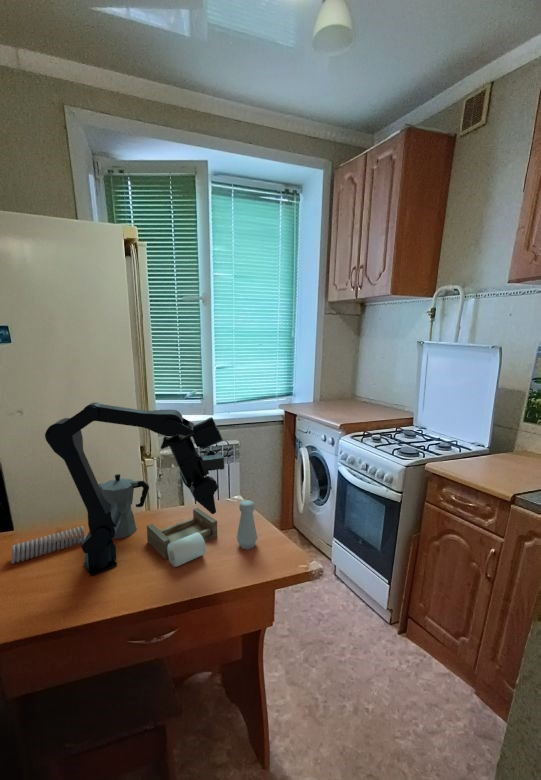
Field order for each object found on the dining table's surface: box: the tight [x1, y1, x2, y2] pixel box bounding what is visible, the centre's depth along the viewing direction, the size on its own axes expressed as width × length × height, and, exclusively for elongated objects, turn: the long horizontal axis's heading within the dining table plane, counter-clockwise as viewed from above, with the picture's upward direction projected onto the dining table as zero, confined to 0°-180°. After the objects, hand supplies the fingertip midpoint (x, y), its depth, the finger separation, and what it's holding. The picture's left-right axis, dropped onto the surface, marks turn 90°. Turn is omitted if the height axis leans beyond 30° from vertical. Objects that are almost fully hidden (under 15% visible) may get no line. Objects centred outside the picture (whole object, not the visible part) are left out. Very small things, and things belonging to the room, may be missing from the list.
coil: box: [10, 525, 86, 565], centre depth 100 cm, size 5×5×18 cm
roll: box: [167, 532, 207, 568], centre depth 96 cm, size 8×6×6 cm
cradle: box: [146, 507, 218, 560], centre depth 106 cm, size 17×11×5 cm, turn 132°
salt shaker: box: [236, 499, 258, 550], centre depth 102 cm, size 6×6×13 cm
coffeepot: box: [98, 473, 150, 540], centre depth 110 cm, size 15×9×18 cm, turn 98°
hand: (209, 507), depth 98 cm, fingers open, 9 cm apart
